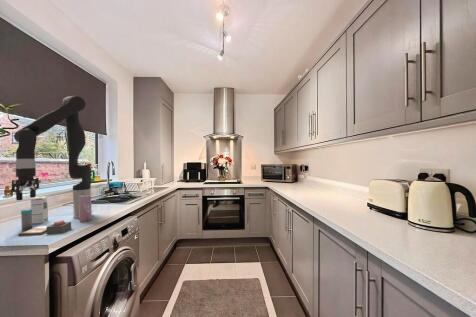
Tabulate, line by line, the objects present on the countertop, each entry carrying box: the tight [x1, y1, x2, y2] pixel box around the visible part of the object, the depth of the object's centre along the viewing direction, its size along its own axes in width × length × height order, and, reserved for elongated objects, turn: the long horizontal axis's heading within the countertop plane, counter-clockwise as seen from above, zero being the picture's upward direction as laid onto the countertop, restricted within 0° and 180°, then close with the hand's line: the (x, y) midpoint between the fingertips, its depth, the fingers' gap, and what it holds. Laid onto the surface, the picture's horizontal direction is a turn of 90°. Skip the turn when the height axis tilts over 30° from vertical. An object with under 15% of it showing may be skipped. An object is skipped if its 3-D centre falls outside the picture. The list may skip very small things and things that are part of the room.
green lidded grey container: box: [20, 208, 33, 232], centre depth 114 cm, size 4×4×10 cm
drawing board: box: [17, 225, 48, 237], centre depth 111 cm, size 12×10×1 cm
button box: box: [46, 221, 72, 235], centre depth 111 cm, size 7×7×4 cm
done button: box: [53, 220, 65, 226], centre depth 111 cm, size 4×4×2 cm
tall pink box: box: [78, 195, 93, 223], centre depth 129 cm, size 6×6×15 cm
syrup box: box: [30, 196, 49, 224], centre depth 129 cm, size 6×6×14 cm
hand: (26, 198), depth 114 cm, fingers open, 8 cm apart
